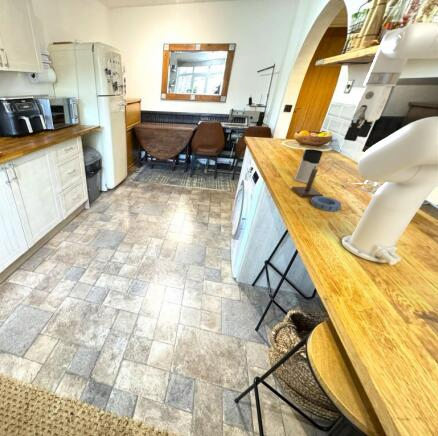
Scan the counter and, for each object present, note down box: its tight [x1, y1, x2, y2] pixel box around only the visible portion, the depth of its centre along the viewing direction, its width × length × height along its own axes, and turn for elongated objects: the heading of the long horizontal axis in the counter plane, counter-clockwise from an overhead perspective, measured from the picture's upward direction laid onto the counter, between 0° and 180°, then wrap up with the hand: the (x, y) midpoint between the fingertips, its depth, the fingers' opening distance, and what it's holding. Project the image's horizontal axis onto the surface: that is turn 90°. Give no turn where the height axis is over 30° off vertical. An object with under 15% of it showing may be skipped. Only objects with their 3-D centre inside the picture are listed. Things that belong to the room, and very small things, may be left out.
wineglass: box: [343, 177, 383, 193], centre depth 112 cm, size 7×7×12 cm
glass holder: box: [293, 148, 335, 184], centre depth 119 cm, size 9×14×15 cm, turn 38°
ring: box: [310, 195, 342, 212], centre depth 99 cm, size 10×10×2 cm
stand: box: [291, 168, 324, 199], centre depth 107 cm, size 9×9×12 cm
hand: (355, 138), depth 81 cm, fingers open, 9 cm apart
